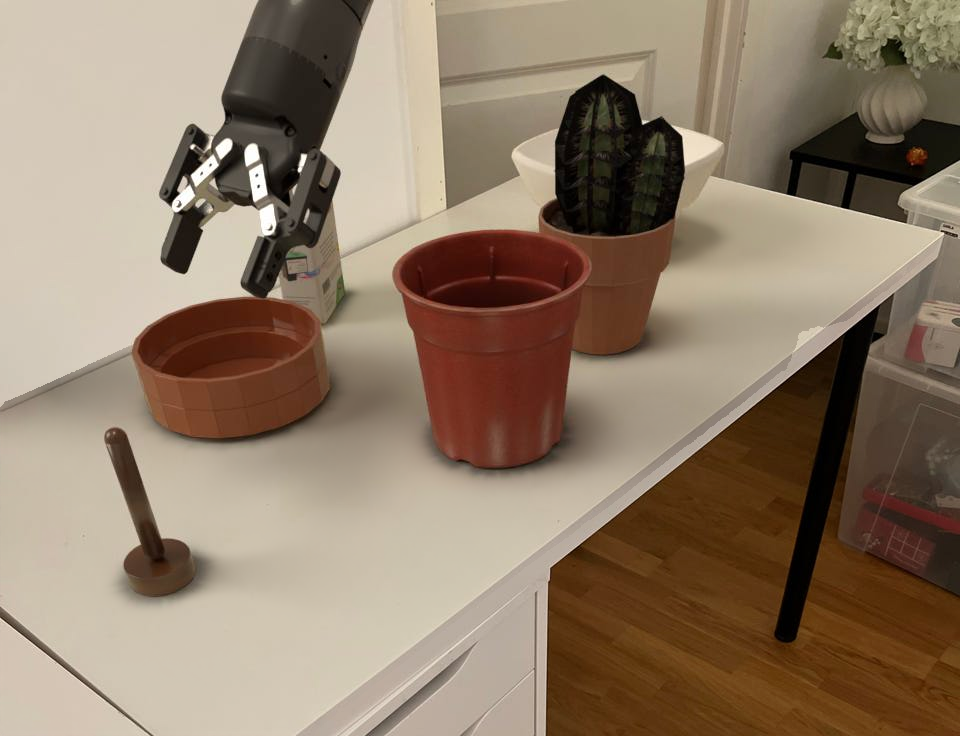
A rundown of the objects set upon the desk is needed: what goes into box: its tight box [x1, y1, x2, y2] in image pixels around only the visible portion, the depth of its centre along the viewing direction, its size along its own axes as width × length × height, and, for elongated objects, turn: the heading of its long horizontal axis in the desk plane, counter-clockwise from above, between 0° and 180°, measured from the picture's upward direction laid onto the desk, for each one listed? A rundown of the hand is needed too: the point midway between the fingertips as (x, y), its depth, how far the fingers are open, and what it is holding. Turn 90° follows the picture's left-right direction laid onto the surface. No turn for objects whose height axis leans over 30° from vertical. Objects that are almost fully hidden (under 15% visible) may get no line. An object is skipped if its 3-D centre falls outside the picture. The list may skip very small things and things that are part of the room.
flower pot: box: [391, 228, 591, 469], centre depth 86 cm, size 16×16×16 cm
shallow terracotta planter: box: [130, 296, 331, 439], centre depth 97 cm, size 18×18×6 cm
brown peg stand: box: [103, 426, 196, 597], centre depth 73 cm, size 5×5×13 cm
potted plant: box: [537, 73, 685, 356], centre depth 97 cm, size 14×14×25 cm
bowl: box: [511, 119, 725, 223], centre depth 120 cm, size 22×22×12 cm
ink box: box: [278, 193, 346, 325], centre depth 110 cm, size 8×5×12 cm, turn 170°
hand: (211, 281), depth 71 cm, fingers open, 8 cm apart
